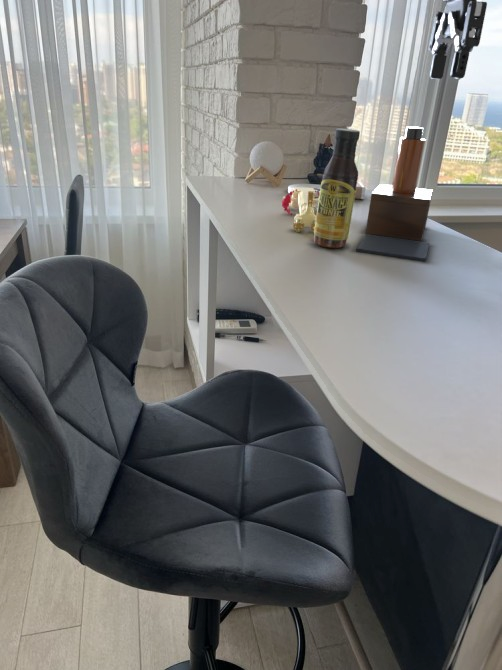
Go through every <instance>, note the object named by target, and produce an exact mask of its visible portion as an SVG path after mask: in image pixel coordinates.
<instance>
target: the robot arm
mask: <svg viewBox="0 0 502 670" xmlns="http://www.w3.org/2000/svg"><path fill="white" fill-rule="evenodd" d="M444 1H445V3H446V4H445V7H444V10H443V11H436V12H435V16H434V19H433V24H432V30H431V34H430V39H429V45H428V51H430V52H431V54H432V60H431V66H430V72H429V78H430V79H431V80H432V79H435V80H441V79H443V77H444V73H445V68H446V62H447V57H448V53H449V51H450V49H451V46H452V45H453V44H454V50H455V51H454V52H453V57H452V64H451V68H450V73H449V77H450V78H451V79H463V78H465V76H466V71H467V67H468V62H469V56H470V53H472V52H473V50H474V48H475V47H479V45H480V43H481V37H482V32H483V28H484V23H485V17H486V12H487V7H488V2H487V1H482V0H444Z"/></svg>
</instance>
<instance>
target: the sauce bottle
mask: <svg viewBox="0 0 502 670" xmlns="http://www.w3.org/2000/svg"><path fill="white" fill-rule="evenodd" d="M360 135H361V131H360V130H356V129H351V128H336V129H335V132H334V139H335V140H334V146H333V151H332V156H331V158H330V159H329V162H328V163H327V165H326V166H325V168H324V170H323V175H322V179H321V182H320V185H321V189H320V195H319V197H318V198H319V202H318V203H317V207H316V214H315V215H316V222H315V229H314V230H313V234H314V235H313V243H314V244H316V245H317V246H320V247H323V248H329V249H340V248H344V247H345V246H346V244H347V240H348V238H349V232H350V227H351V222H352V215H353V210H354V205H355V194H356V185H357V182H358V180H359V170H358V167H357V164H356V160H355V159H356V150H357V146H358V141H359V139H360Z"/></svg>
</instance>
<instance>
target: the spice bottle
mask: <svg viewBox="0 0 502 670" xmlns="http://www.w3.org/2000/svg"><path fill="white" fill-rule="evenodd" d="M423 134H424V127H419V126H406V127H405V134H404V136H401V137H399V142H398V147H397V154H396V159H395V166H394V171H393V176H392V177H393V178H392V183H391V185H392V188H391V191H393V192H397V193H404V194H414V193H416V188H418V182H419V177H420V172H421V167H422V161H423V156H424V150H425V146H426V140H427V139H425V138H423Z"/></svg>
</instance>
